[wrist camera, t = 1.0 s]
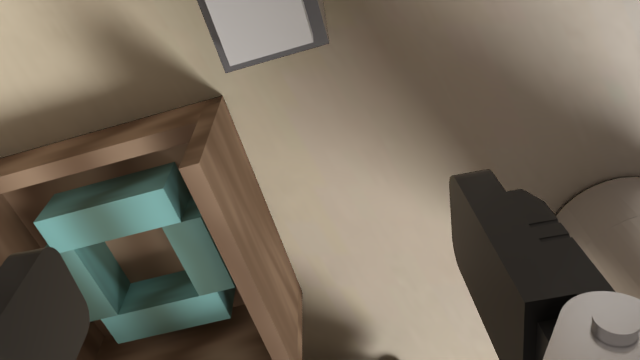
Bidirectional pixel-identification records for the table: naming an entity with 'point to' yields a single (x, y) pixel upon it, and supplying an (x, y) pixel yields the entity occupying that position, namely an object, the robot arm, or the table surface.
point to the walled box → (160, 238)
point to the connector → (263, 29)
